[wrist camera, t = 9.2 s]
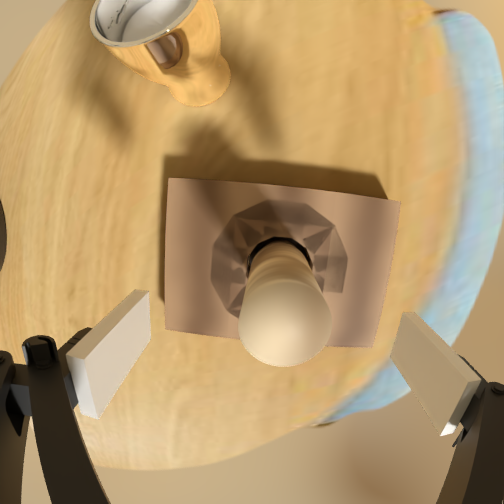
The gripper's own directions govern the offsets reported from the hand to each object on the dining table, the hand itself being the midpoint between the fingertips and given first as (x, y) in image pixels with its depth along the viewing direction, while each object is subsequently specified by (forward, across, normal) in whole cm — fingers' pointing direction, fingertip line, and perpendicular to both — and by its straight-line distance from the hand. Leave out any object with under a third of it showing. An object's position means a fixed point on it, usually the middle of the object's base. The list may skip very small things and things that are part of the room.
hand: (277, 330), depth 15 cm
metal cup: (+15, -8, +17) cm, 24 cm away
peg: (+14, +1, 0) cm, 15 cm away
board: (+15, +1, 0) cm, 15 cm away
